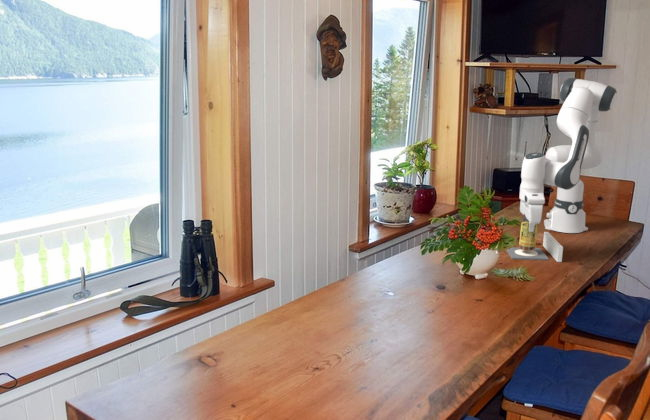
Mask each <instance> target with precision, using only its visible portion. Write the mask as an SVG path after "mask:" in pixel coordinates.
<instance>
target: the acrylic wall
mask: <svg viewBox="0 0 650 420" xmlns="http://www.w3.org/2000/svg"><path fill="white" fill-rule="evenodd" d="M542 246H543V247H544V249H545V250H546V251H547V252H548V253H549V254H550V255H551V256H552V258H553V259H554V260H555V261H556V262H557V263H562V261H563V252H564V247H563V245H561V243H560V242H558V241H557V239H556V238H555V237H554V236H553V235H552V234H551V233H550V232H549V231H543V241H542Z"/></svg>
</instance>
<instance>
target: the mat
mask: <svg viewBox="0 0 650 420" xmlns="http://www.w3.org/2000/svg"><path fill="white" fill-rule="evenodd" d="M511 247H512V248H510V249H507V250H506V249H505V251H506V253H508V255H509V257H510V258H511V259H512V260H530V261H531V260H532V261H533V260H534V261H550V258H548V256H547V255H546V253H545V252H544V251H543V250H542V248H541V247H535V249H534V250H532V251H526V250H522V249H520V248H519V247H517V246H516V247H513V246H511Z"/></svg>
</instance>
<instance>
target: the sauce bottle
mask: <svg viewBox="0 0 650 420" xmlns="http://www.w3.org/2000/svg"><path fill="white" fill-rule="evenodd" d="M521 219H522V220H521V223H520V233H519V240H518V241H519V242H518V248H520V249H522V250H526V251H532V250H534V249H535V248H536V241H537V235H538V225H539V224H535V226H534V231H533V232H529V231H528V226H529V221H528V219H527V218H526V216H525V213H524V215H523V214H522V218H521Z"/></svg>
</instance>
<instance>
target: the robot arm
mask: <svg viewBox="0 0 650 420" xmlns="http://www.w3.org/2000/svg"><path fill="white" fill-rule="evenodd" d="M559 98H560V100H561V101H563V103H562V106H561V107H560V109H559V112H558V114H557V117H556V125H557V128H558V129H559V131H560V132H562V134H564V135H565V136H566V137H569V138H570V139H571V144H566V145H565V144H562V145H561V144H560V145H556V146H552V147H549V148H548V149H547V151H546V153H545V155H544V153H541V152H530V153H527V154H525V155H524V157H523V160H522V164H521V173H520V178H521V183H520V186H519V200H520V202H519V203H520V204H519V212H520V213H521V214H522V216H523V215H524V213H525V216H526V218H527V219H528V221H529V226H528V231H529V232H533V231H534V226H535V224H538V225H539V224H540V223H541V221H542V217H543V216H542V215H543V207H544V204H545V203H546V199H545V195H544V192H545V191H544V190H545V187H544V186H545V185H548V186H552V187H557V188H556V189H557V191H556V198H555V199H554V205H553V207H552V209H550V210H549V212H546V218H547V219H544V220H543V224H544V229H545V230H549V231H554V232H559V233H567V234H578V233H579V234H580V233H583V232H585V231H586V232H587V231H588V230H589V227H587V226H586V212H585V211H584V199H583V198H584V189H585V184H584V182H583V180H582V179H581V170H588V169H592V168H596V167H598V166H599V165H600V164H601V162H602V161H603V153H602V149H601V148H600V147H599V146H597V144H596V140H595V139H596V138H595V137H596V132H597V128H598V124H599V120H600V117H601V113H602V112H608V111H611V110H612V108H613V107H614V106H615V104H616V102H617V99H618V92H617V89H616V88H615V87H614V86H610V85H606V84H604V83H601V82H597V81H594V80H592V81H591V80H588V79H587V80H586V79H581V78H578V77H568V78H566V79H565V80H564V81H563V83H562V84H561V86H560V90H559Z"/></svg>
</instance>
